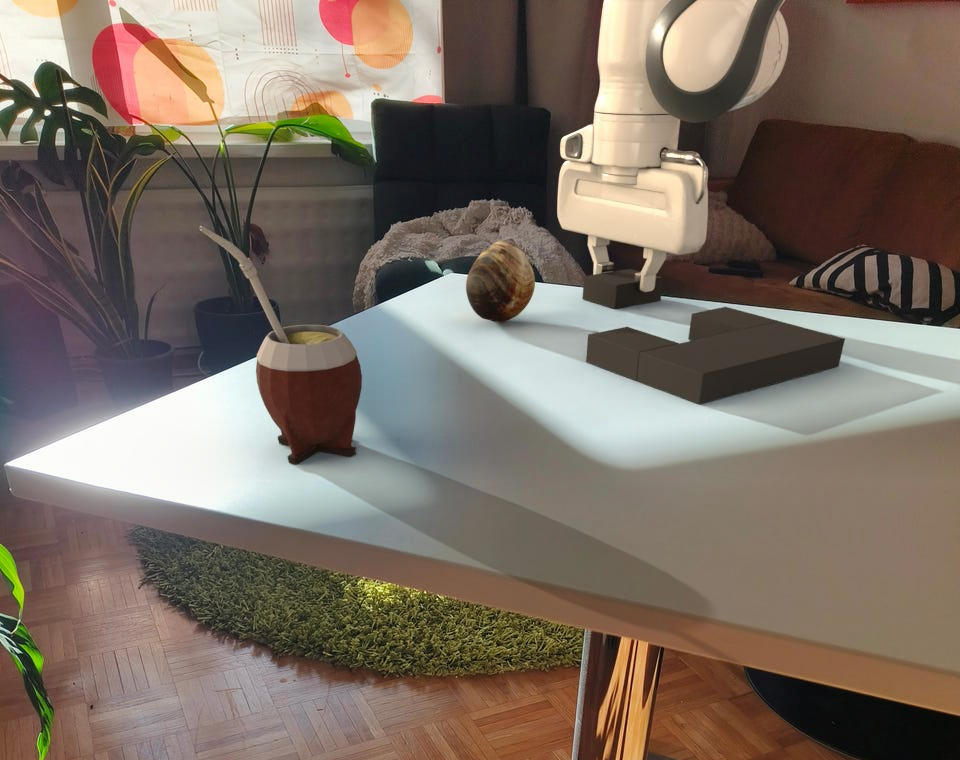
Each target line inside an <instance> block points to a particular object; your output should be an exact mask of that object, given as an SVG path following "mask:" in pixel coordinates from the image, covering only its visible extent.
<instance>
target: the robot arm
mask: <svg viewBox="0 0 960 760" xmlns="http://www.w3.org/2000/svg"><path fill="white" fill-rule="evenodd" d="M785 1H786V0H603V3H602V10H601V17H600V25H599V35H598V36H599V37H598V45H597V67H598V73H599V74H598V75H599V89H598V94H597V97H596V101H595V103H594V109H593V111H594V112H593V123H591V124H587V125H586V126H584V127H582V128H580V129H578V130H576V131H573V132H571V133H569V134H567V135H564V136H563V137H562V138H561V140H560V144H559V145H560V146H559V148H560V149H559V153H560V157H561V158H562V159H563V160H565V161H564V162H563V164H562V165H561V168H560V171H559V175H558V186H557V203H556V204H557V207H556V210H557V211H556V213H557V219H558V222H559V225H560V227H561V229H562V230H563V231H564V230H565V231H569V232H573V233H578V234H581V235H587V247H588V251H589V254H590V256H591V259H592V263H593V270H592V271H593V273H592V275H595V274H601V273H607V272H614V268H615V263H614V262H612V261H610V257H609V253H608V247H607V246H609V245H610V243H611V241H614V242H618V243H623V244H627V245H631V246H636V247H641V248H643V253H642V254H643V255H642V257H643V259H646V260H645V263H644V265H643V266H642V269H641V271H640V272H641V273H635V285H634V287H635V289H636V290H639V291H642V292H649V291H652V290H653V289H654V287H655V279H656V276H657V274H658V273H659V271H660V269H661V268H662V266H663V265H664V262H665V261H666V259H667V255H668V254H672V255H676V256H683V255H688V254H694V253H698V252H699V251H700V250H701V249H702V247H703V246H704V244H705V242H706V241H707V233H708V231H707V230H708V217H709V215H708V214H709V190H708V189H709V188H708V178H709V169H708V168H709V167H707V165H706V163H705V161H704V160H703V158H701V156H700V154H699V153H698V152H696V151H692V150H688V151H683V150H680V149H678V147H679V137H680V127H681V121H683V122H686V123H695V124H696V123H706V122H710V121H712V120H715V119H718V118H719V117H721V116H723V115H724V114H727V113H728V112H732V111H735V110H737V109H741V108H744V107H746V106H748V105H751V104H752V103H755V102H756V101H758V100H759V99H760V98H762V97H763V96H765V95H766V94H767V93H768V92H769V91H771V89H772V88H773V87H774V85H776V82H778V80H779V79H780V77H781V75H782V73H783V71H784V69H785V67H786V64H787V60H788V56H789V52H790V51H789V50H790V33H789V27H788V24H787V21H786V18H785V16H784V14H783V12H782V11H781V10H780V9H781V7H782V6H783V4H784V3H785ZM698 163H699V164H698Z"/></svg>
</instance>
